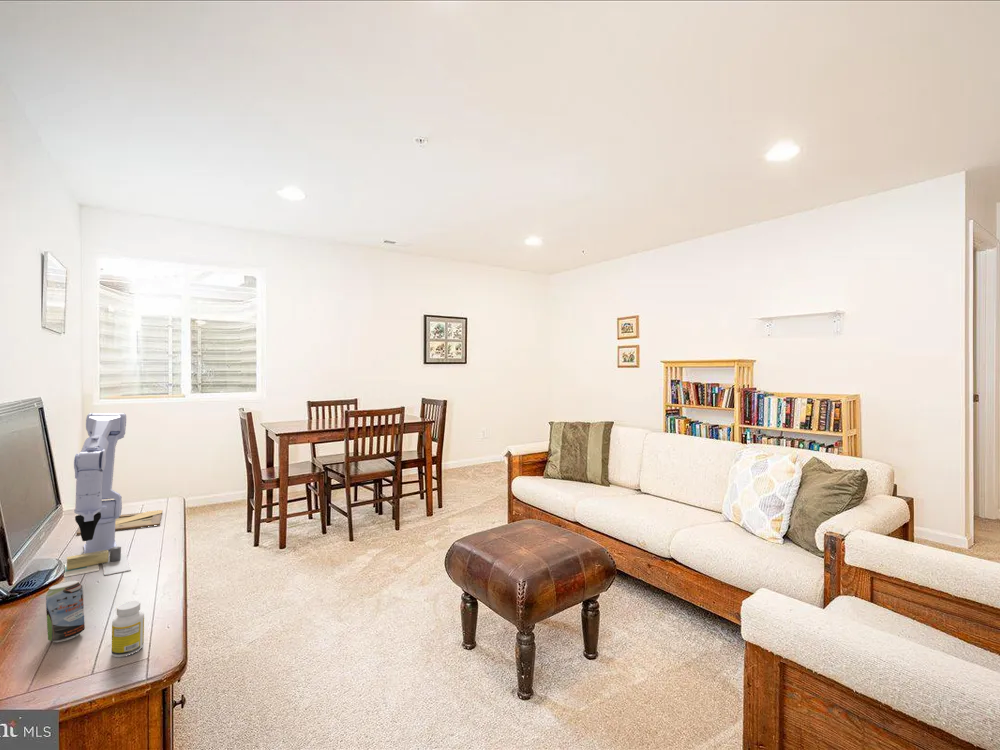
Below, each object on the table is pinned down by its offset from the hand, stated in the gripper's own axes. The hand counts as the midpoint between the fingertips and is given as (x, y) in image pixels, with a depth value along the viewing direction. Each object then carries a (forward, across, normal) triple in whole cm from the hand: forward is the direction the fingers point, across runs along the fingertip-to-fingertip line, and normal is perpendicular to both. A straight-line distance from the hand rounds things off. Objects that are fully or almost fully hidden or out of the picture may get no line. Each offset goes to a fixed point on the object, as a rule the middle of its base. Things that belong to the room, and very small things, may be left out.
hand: (87, 540), depth 137 cm
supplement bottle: (+10, -54, -6) cm, 55 cm away
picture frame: (+10, +47, -11) cm, 50 cm away
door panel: (+9, +2, -3) cm, 10 cm away
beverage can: (+10, -40, +4) cm, 41 cm away
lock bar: (+9, +5, 0) cm, 10 cm away
